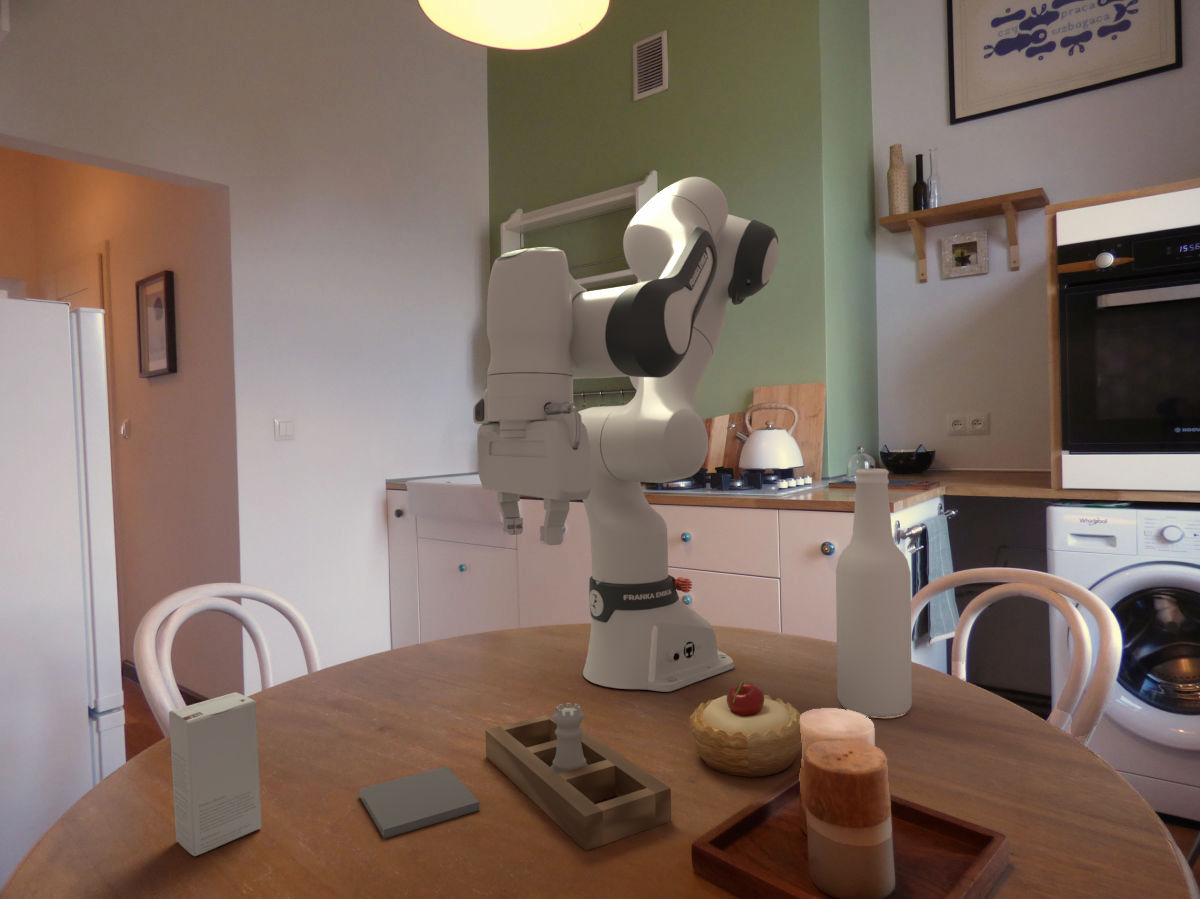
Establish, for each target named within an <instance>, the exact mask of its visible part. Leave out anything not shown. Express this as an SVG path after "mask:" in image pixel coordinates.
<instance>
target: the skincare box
mask: <svg viewBox="0 0 1200 899" xmlns="http://www.w3.org/2000/svg"><path fill="white" fill-rule="evenodd" d="M168 721H169V724H168V725H169V739H170V751H171V752H170V754H171V770H172V771H171V773H172V789H173V790H172V791H173V808H174V809H173V810H174V813H173V814H174V826H175V830H174V831H175V840H176V841H177V843H178V844H179V845H180V847H182V848H183V849H184V850H185V851H187V853H189V855H191V856H193V857H197V856H198V857H199V855H203V854H205V853H207V852H209V851H212V850H214V849H216V848H218V847H220V846H224V845H226V844H227V843H230V842H233V841H235V840H237V839H239V838H242V837H244V836H246V835H248V834H251V833H253V832H255V831H258V830H259V829H261V828H262V810H261V808H262V807H261V783H260V764H259V763H260V762H259V761H260V759H259V744H258V743H259V741H258V740H259V737H258V725H257V724H258V723H257V702H256V701H255V700H254V699H253V698H250V697H248V696H246V695H244V694H241V693H239V692H236V691H235V692H231V693H228V694H225V695H222V696H221V695H220V696H217V697H213V698H210V699H207V700H206V699H205V700H204V701H200V702H197V703H192V704H189V705H186V706H182V707H179V708H175V709H172V710H169V712H168Z"/></svg>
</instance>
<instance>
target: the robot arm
mask: <svg viewBox="0 0 1200 899" xmlns="http://www.w3.org/2000/svg"><path fill="white" fill-rule="evenodd" d="M728 206H729V204H728V201H727V198H726V196H725V194H724V192H723V191H722V189H721V188H720V187H719V186H718V185H717V184H716V183H715V182H713V181H712V180H710V179H708V178H704V177H700V176H690V177H686V178H682V179H680V180H678V181H676V182H674V183H672V184H670V185H669V186H667V187H664V189H662V190H661V191H659V192H658V193H656V194H655V195H654V196H653V197H652V198H650V200H648V201H647V202H646V203H645V204H644V205H643V206H642V207H640V209H639V210H638V211H637V212H636V213H635V214H634V215H633V217H632V218H631V219H630V221H629V223H628V225H627V227H626V229H625V231H624V234H623V239H622V243H623V247H622V248H623V253H624V257H625V258H624V259H625V260H626V264H627V265H628V267H629V269H630V271H632V273H633V274H634V275H635V277H637V279H639V280H640V281H641V282H637V283H634V284H629V285H622V286H617V287H609V288H601V289H596V290H590V291H588V289H586V288H585V287H583V286H582V285H580V284H579V283H578V281H576V279H575V278H574V277H573V276H572V274H571V273H570V269H569V263H568V258H567V256H566V253H565V251H564V250H563V249H559V248H557V247H551V246H550V247H549V246H542V247H541V246H540V247H538V246H537V247H536V246H535V247H531V248H527V247H526V248H521V249H518V250H512V251H508V252H505V253H502V254H501V255H500V256H499V257H497V258H496V259H495V260H494V262H493V264H492V268H491V271H490V275H489V281H488V287H487V288H488V289H487V302H486V335H487V339H488V343H489V345H490V347H489V348H490V361H489V364H488V367H487V370H486V371H487V372H486V376H487V379H486V385H487V388H486V389H485V390H484V393H483V395H482V396H481V397H480V398H479V400H477V402H475V404H474V406H473V411H472V413H473V414H472V419H473V422H474V424H475V425H480V426H479V427H478V430H477V435H476V439H477V440H476V448H477V466H478V477H479V480H480V484H481V486H482V488H483V490H486V491H492V492H496V493H497V494H496V495H497V496H496V497H497V499H496V500H497V504H498V507H499V508H498V509H499V512H500V515H501V518H502V533H504V534H506V535H511V536H514V535H517V536H518V535H521V534H522V533H523V531H524V527H523V525H524V517H522V516H521V515H520V508H519V502H520V500H521V499H520V497H521V496H526V497H532V498H533V497H534V498H542V499H543V510H544V511H545V510H546V511H545V515H544V516H545V517H544V522H543V525H540V526H539V528H540V529H539V531H540V532H539V533H540V537H539V539H540V542H541V543H542V544H544V545H547V546H559V545H561V544H562V543H563V541H564V526H565V524H566V520H567V517H568V515H569V512H570V501H577V500H578V501H579V500H582V502H583V504H584V508H585V512H586V515H587V520H588V525H589V535H590V536H589V537H590V550H591V551H590V553H591V554H590V555H591V576H590V577H589V582H588V584H589V585H588V586H589V588H588V589H589V591H588V592H589V593H588V594H589V597H588V598H589V611H590V613H589V614H590V616H591V621H590V622H591V623H590V633H589V634H590V635H589V640H588V641H589V642H588V649H587V653H586V654H587V655H586V660H585V664H584V667H583V670H582V675H583V677H584V678H585V679H586V680H587V681H589V682H591V683H593V684H595V685H599V686H602V687H606V688H613V689H622V690H623V689H624V690H648V691H655V692H662V693H663V692H664V693H668V692H672V691H677V690H678V689H681V688H684V687H686V686H688V685H692V684H695V683H697V682H700V681H702V680H705V679H708V678H710V677H713V676H716V675H718V674H722V673H724V672H727V671H730V670H732V669H734V667H735V665H734V660H733V659H732V657H731V656H729V655H728V654H726V653H725V652H723V651H721V650H719V649H718V642H717V637H716V632H715V630H714V627H713V625H712V624H711V623H710V621H708V619H705V618H704V617H703V616H702V615H700V614H698V612H696V611H695V610H693V609H692V608H691V607H690V606H688V605H687V604H685V603H684V602H683V601H682V600H680V597H679V593H678V592H677V591H680V592H683V593H690V591H691V589H692V588H693V581H691V579H690V578H686V577H685V578H684V577H682V576H679V577H677V578H675V577H673V576H672V575H670V574H669V555H668V554H669V552H668V550H669V549H668V547H669V546H668V541H669V540H668V527H667V523H666V521H665V518H663V517H662V515H661V514H660V513H659V512H658V511H656V510H655V509H654V508H653V507H652V506H651V505H650V503H649V501H648V500H647V498H646V496H645V493H644V492H643V489H642V484H641V483H655V484H663V483H664V484H665V483H668V482H669V483H670V482H674V481H679V480H683V479H687V478H691V477H692V476H694V475H696V474H697V473H698V472H699V471H700V469H701V468H702V466H703V465H704V463H705V461H706V458H707V454H708V451H709V450H708V449H709V435H708V431H707V429H706V428H707V427H706V424H704V421H703V420H702V418H701V416H699V415H698V413H697V412H696V411H695V399H696V394H697V391H698V390H699V386H700V385H701V382H702V379H703V377H704V375H705V373H706V371H707V369H708V367H709V364H710V363H711V360H712V358H713V356H714V354H715V352H716V349H717V348H718V345H719V341H720V339H721V337H722V333H723V329H724V326H725V321H726V317H727V309H728V308H727V307H728V303H729V301H730V300H731V303H732V305H735V306H737V305H741V304H742V303H744V301H745V300H746V299H747V298H749V297H752V296H754V295H755V294H756V295H757V293H759V292H760V291H761V290H762V289H764V288H765V286H766V285H767V284H768V283H769V281H770V280H771V277H772V276H773V274H774V273H775V270H776V268H777V264H778V261H779V254H780V253H779V252H780V250H779V238H778V234H777V232H776V231H775V229H774V228H773V227H772V226H769V224H766V223H764V222H761V221H759V220H757V219H752V220H749V219H747V218H744V217H743V218H742V217H740V216H736V215H733V214H729V207H728ZM620 377H621V378H623V377H624V378H625V377H628V378H629V380H630V382H631V385H632V386H633V388H634V389H635V390H636V392H635V395H634V397H633V398H632V399H631V400H630V401H629V402H627V403H626V404H622V405H610V406H607V405H606V406H592V407H588V408H584V409H582V410H579V411H578V409H577V408H576V405H575V403H574V380H579V379H581V380H582V379H604V378H605V379H606V378H608V379H609V378H620Z"/></svg>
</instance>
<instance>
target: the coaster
mask: <svg viewBox="0 0 1200 899" xmlns="http://www.w3.org/2000/svg"><path fill="white" fill-rule="evenodd" d="M358 793H359V799H360V800H361V801H362V804H363V806H364V807H365V808H366V810H367V812H368V813H369V815H370V817H371V818H372V821H373V823H374V825H375V826H376V827H377V829H378V831H379V832H380V835H381V836H382V838H383V839H388V838H390V837H394V836H397V835H401V834H404V833H408V832H411V831H415V830H417V829H421V828H424V827H428V826H430V825H434V824H437V823H441V822H445V821H448V820H451V819H454V818H458V817H461V816H464V815H468V814H471V813H475V812H477V811H480V810H481V809H480V801H479V799H477V797H476V796H475V795H474V794H473V793H472V792H471V791H470V790H469V788H467V786H466V785H465V783H463V782H462V780H460V778H458V776H456V774H455V773H454V772H453V771H452V770H451V769H450V767H448V766H447V765H446V766H442V767H438V768H434V769H431V770H425V771H423V772H420V773H416V774H412V775H408V776H403V777H400V778H397V779H392V780H389V781H384V782H381V783H380V782H379V783H378V784H373V785H369V786H365V787H362V788H359V792H358Z"/></svg>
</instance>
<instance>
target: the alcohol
mask: <svg viewBox="0 0 1200 899" xmlns="http://www.w3.org/2000/svg"><path fill="white" fill-rule="evenodd" d="M889 473H890V472H889V470H888V469H886V468H857V469H856V470H855V471H854V474H855V479H854V483H855V496H854V497H855V498H854V500H855V501H854V511H853V524H852V525H853V526H852V536H851V538H850V541H849V544H847V545H846V547H845V548H844V549H843V550H842V551H841V554H839V556H838V560H837V564H836V567H835V592H836V593H835V597H836V598H835V599H836V600H835V601H836V602H835V603H836V605H835V606H836V607H835V608H836V612H835V613H836V684H837V688H836V690H837V692H836V693H837V694H836V695H837V696H836V697H837V700H838V701H839V704H840V705H841V706H843V707H842V708H843V709H844V708H845V709H850V710H853V711H856V712H860V713H862V714H865V715H867V716H869V717H870V718H869V719H873V718H872V717H871V716H877V717H887V716H888V717H889V716H897V715H901V714H904V713H906V712H907V711H908V712H909V710H910V709H911V707H912V705H913V701H912V700H913V699H912V698H913V689H912V688H913V687H912V686H913V682H912V678H913V676H912V674H913V672H912V591H911V590H912V588H911V587H912V584H911V583H912V580H911V578H912V577H911V576H912V575H911V569H910V565H909V561H908V558H907V557H906V556H905V554H904V553H903V551H902V550H901V549H900V548H899V547H898V545H896V542H895V539H894V537H893V529H892V518H891V508H890V507H891V506H890V496H889V486H888V484H889V483H890V480H889V478H888V476H889ZM845 709H844V710H845ZM908 712H907V713H908ZM907 713H906V714H907Z"/></svg>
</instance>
